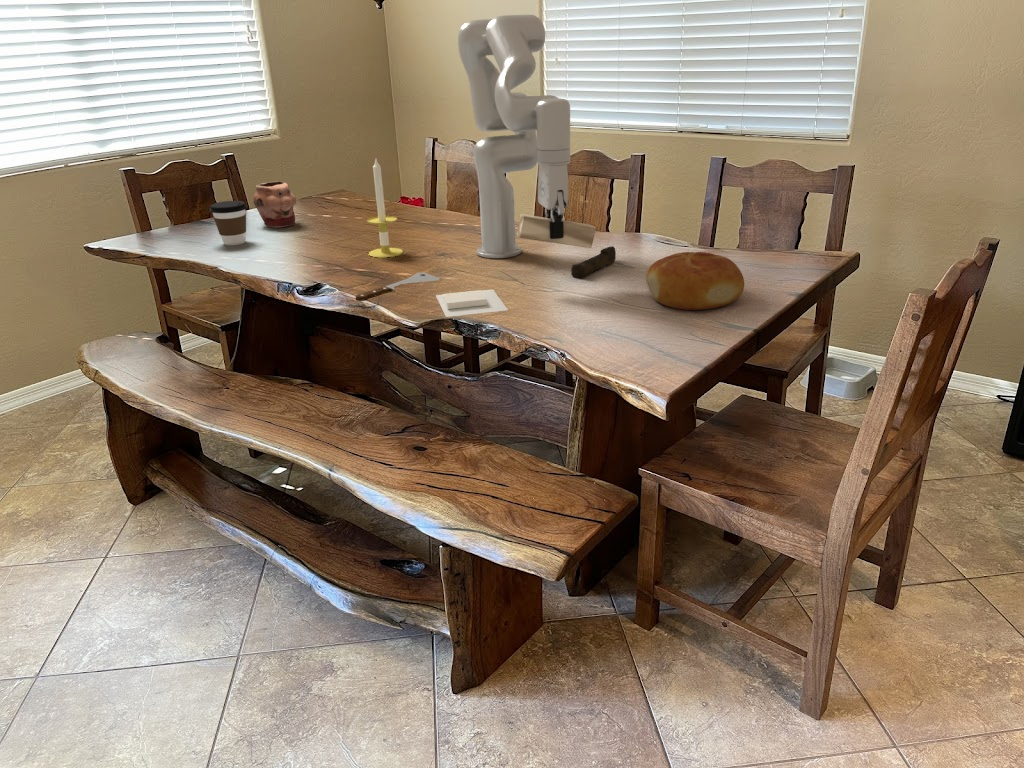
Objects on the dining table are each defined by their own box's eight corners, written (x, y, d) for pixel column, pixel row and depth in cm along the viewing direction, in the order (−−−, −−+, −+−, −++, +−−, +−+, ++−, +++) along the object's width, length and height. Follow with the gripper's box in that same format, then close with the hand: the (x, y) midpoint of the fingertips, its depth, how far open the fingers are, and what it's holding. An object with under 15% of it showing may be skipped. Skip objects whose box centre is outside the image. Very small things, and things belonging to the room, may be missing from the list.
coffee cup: (258, 238, 246) (252, 200, 241) (244, 247, 236) (237, 207, 231) (225, 238, 247) (218, 200, 242) (210, 247, 237) (202, 208, 232)
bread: (621, 300, 181) (622, 257, 177) (679, 277, 196) (681, 237, 191) (706, 322, 166) (709, 276, 162) (762, 295, 181) (767, 253, 176)
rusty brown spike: (583, 280, 196) (583, 262, 194) (570, 278, 198) (570, 260, 196) (623, 263, 209) (624, 246, 207) (611, 261, 211) (611, 244, 209)
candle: (361, 256, 223) (349, 159, 212) (381, 247, 231) (372, 153, 220) (389, 259, 219) (379, 160, 207) (409, 250, 227) (401, 155, 215)
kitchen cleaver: (375, 303, 182) (348, 293, 188) (376, 308, 183) (349, 297, 189) (449, 279, 199) (422, 271, 205) (450, 283, 199) (423, 274, 205)
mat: (435, 297, 186) (435, 295, 186) (493, 291, 189) (493, 289, 189) (446, 319, 172) (446, 317, 172) (508, 312, 175) (508, 310, 175)
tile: (480, 296, 184) (442, 300, 182) (480, 290, 183) (442, 294, 182) (486, 305, 178) (447, 310, 176) (486, 299, 177) (447, 303, 175)
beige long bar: (516, 234, 184) (520, 213, 182) (587, 245, 189) (592, 224, 188) (519, 237, 182) (523, 216, 180) (591, 248, 187) (596, 227, 185)
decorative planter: (244, 224, 264) (236, 183, 258) (274, 217, 273) (267, 177, 267) (280, 232, 253) (273, 188, 247) (310, 224, 261) (304, 182, 255)
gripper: (528, 152, 184) (530, 230, 191) (547, 163, 169) (548, 246, 177) (559, 150, 185) (559, 227, 193) (580, 160, 171) (580, 243, 178)
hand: (554, 235), depth 185 cm, fingers closed on beige long bar, 3 cm apart
